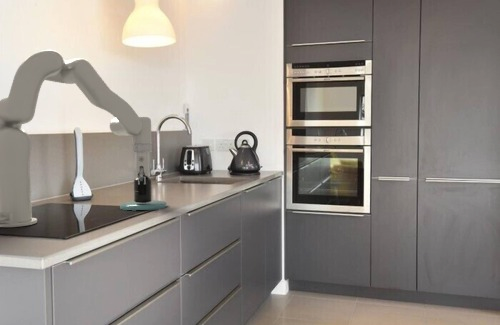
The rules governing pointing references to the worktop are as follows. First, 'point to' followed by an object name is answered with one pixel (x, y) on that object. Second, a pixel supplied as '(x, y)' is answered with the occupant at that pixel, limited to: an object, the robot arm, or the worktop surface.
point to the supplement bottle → (148, 190)
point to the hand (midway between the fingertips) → (142, 193)
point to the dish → (143, 205)
